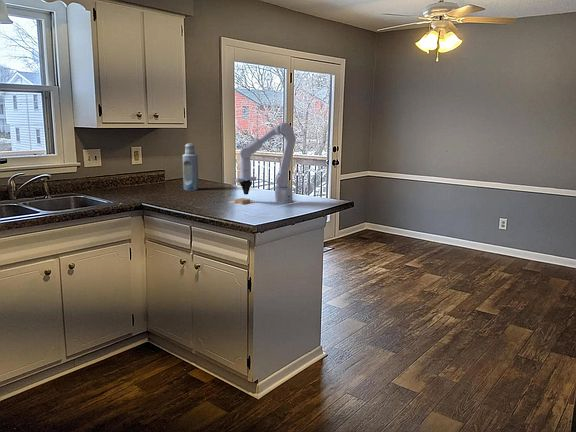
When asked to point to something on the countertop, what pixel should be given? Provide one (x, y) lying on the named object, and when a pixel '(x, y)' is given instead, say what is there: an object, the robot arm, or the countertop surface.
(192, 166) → the bottle
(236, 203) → the board
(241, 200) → the tile
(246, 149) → the robot arm
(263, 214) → the countertop surface
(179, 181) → the countertop surface
